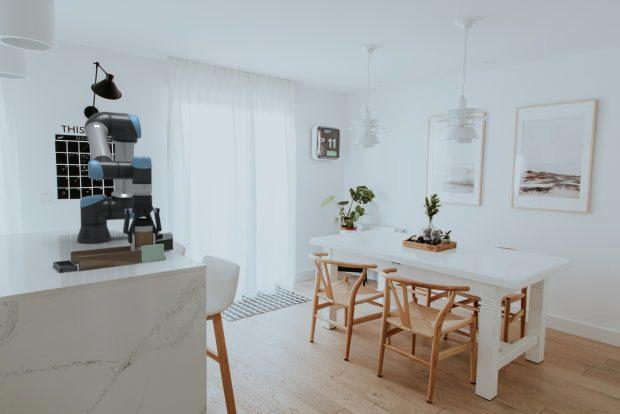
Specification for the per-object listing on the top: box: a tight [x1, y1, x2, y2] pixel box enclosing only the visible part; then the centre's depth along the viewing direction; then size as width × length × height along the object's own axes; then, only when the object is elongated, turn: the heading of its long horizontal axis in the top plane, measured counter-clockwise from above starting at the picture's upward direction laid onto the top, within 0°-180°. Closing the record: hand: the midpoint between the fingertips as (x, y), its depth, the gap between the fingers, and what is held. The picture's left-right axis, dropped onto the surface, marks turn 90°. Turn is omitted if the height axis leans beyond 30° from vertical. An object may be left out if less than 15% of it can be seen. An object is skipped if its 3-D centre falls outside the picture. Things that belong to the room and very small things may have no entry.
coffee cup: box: [132, 217, 155, 250], centre depth 168 cm, size 8×8×15 cm
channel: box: [70, 245, 142, 272], centre depth 159 cm, size 13×22×5 cm, turn 132°
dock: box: [129, 243, 167, 264], centre depth 169 cm, size 13×10×6 cm
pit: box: [52, 259, 79, 274], centre depth 150 cm, size 12×6×2 cm, turn 42°
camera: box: [155, 231, 174, 253], centre depth 184 cm, size 16×9×10 cm, turn 151°
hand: (143, 249), depth 168 cm, fingers closed on coffee cup, 7 cm apart
